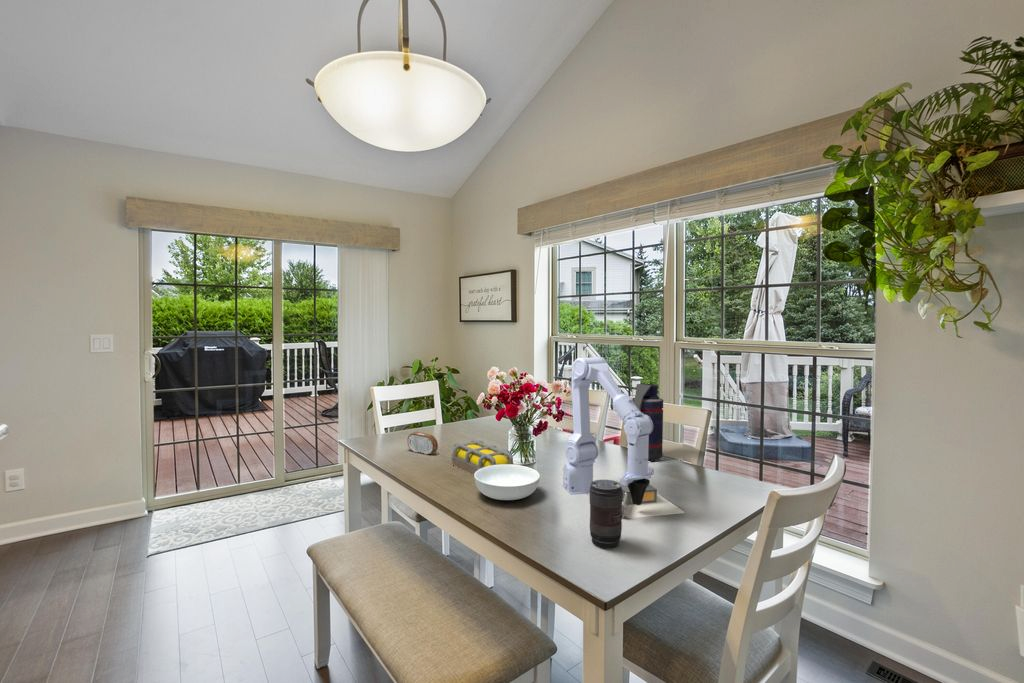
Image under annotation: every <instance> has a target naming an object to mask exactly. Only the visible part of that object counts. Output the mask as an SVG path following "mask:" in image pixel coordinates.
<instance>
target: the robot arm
mask: <svg viewBox="0 0 1024 683" xmlns="http://www.w3.org/2000/svg"><path fill="white" fill-rule="evenodd" d="M593 382H598V384H599V385H600V386H601V387H602V388H603V389H604V391H605V392H606V393H607V395H608V396H609V397H610V399H612V408H613V409H614V411H615V412H616V413H617V415H618V416H619V418H620V420H622V423H624V425H623V431H624V433H625V435H626V441H627V471H626V472H625V473H624V475H623V476H620V482H619V483H620V484H621V485H625V486H628V488H629V491H630V494H631V498H632V502H633V504H636V505H641V503H642V500H643V496H644V493H645V490H646V488H647V486H648V485H649V484H650V483H651V482H650V481H651V480H650V479H651V478H652V476H653V475H654V473H655V472H654V471H655V470H654V469H655V468H654V467H650V466H649V462H648V444H649V435H648V434H650V433H651V432H652V431H653V423H652V420H651V418H650V417H649V416H647V415H644V414H643V413H641V412H640V411H639V409H638V408H637V407H636V405H635V404H634V402H633V398H632V397H631V396H630V395H628V394H623V392H622V391H621V389H620V387H619V386H618V383H617V382H616V380H615V379H614V377H613V376H612V373H611V371H610V365H609V364H608V363H607V361H606V359H605V358H604V357H602V356H596V357H595V356H593V357H577V358H576V359H575V360H574V361H573V362H572V363H571V401H572V402H571V403H572V405H571V406H572V420H573V421H572V424H573V428H572V429H573V430H572V431H573V433H572V435H570V437H569V438H568V439H567V440H566V442H567V444H566V449H565V457H566V459H567V461H568V463H565V464H563V468H562V486H561V487H562V488H563V489H564V490H565V491H566V492H567V493H568V494H569V495H583V494H590V486H591V482H593V481H594V463H595V462H596V459H597V458H598V457H599V453H600V452H599V447H598V445H597V438H596V436H594V435H593V434H592V433H591V418H590V413H591V412H590V396H589V395H590V394H589V390H590V389H589V385H591V384H592V383H593Z"/></svg>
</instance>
